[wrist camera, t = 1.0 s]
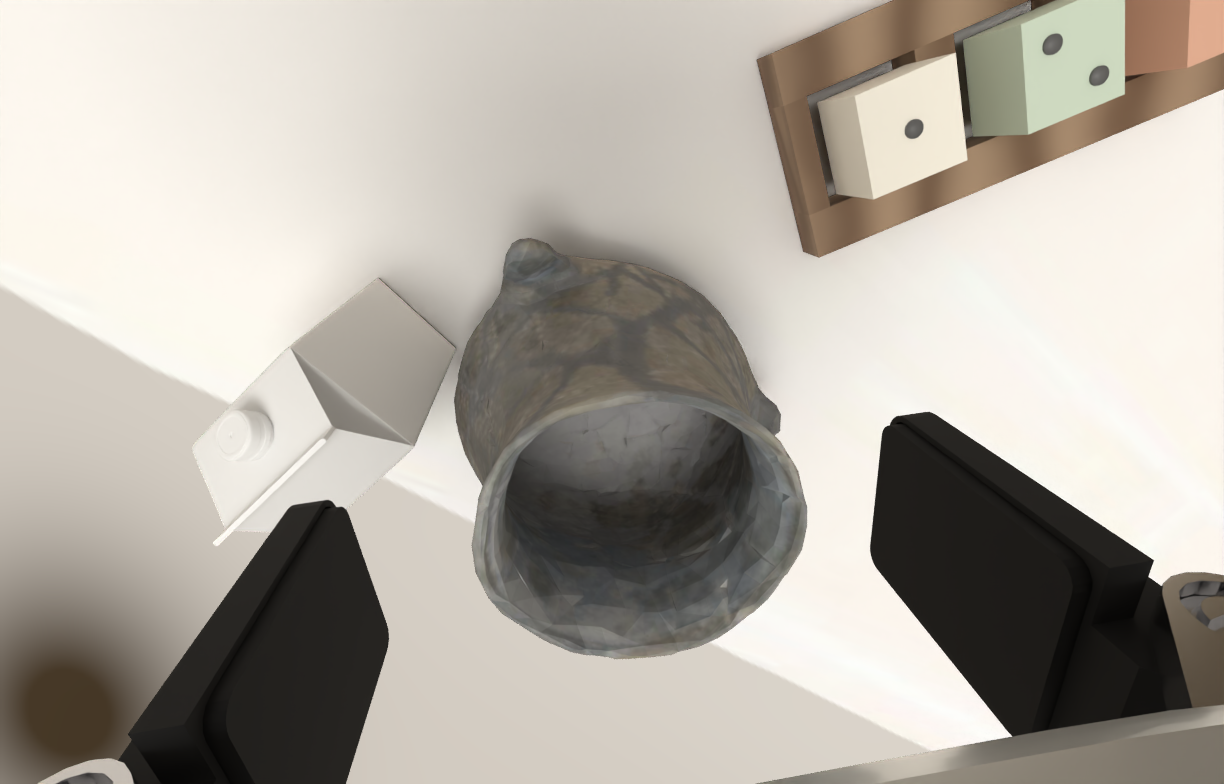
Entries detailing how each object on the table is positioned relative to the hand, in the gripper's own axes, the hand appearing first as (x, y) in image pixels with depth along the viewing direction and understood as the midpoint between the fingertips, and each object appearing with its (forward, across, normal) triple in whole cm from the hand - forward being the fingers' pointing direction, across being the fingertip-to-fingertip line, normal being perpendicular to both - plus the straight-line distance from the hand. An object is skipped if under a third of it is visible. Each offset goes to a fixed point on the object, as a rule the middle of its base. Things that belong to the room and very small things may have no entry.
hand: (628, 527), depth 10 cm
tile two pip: (+30, -29, -8) cm, 42 cm away
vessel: (+32, -2, +10) cm, 34 cm away
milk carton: (+32, +14, +5) cm, 35 cm away
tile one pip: (+29, -20, -5) cm, 36 cm away
